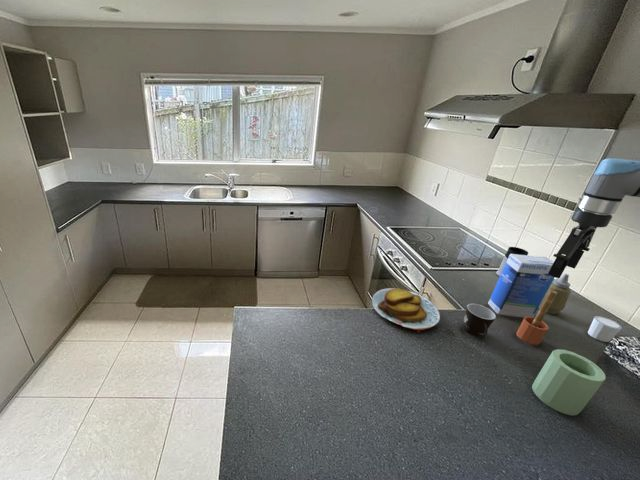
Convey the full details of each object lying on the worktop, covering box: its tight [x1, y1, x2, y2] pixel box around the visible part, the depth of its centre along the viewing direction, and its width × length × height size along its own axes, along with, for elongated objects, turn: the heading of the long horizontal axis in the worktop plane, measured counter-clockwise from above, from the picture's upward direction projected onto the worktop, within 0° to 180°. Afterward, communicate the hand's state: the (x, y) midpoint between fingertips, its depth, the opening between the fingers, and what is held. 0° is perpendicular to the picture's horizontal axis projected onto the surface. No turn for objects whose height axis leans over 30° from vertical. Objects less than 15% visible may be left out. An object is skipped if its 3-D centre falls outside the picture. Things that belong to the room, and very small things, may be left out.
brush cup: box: [515, 316, 550, 346], centre depth 103 cm, size 7×7×8 cm
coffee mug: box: [461, 303, 497, 338], centre depth 104 cm, size 12×9×10 cm
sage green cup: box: [531, 348, 607, 416], centre depth 80 cm, size 10×10×14 cm
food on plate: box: [371, 287, 441, 334], centre depth 115 cm, size 25×25×7 cm
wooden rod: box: [531, 290, 557, 327], centre depth 100 cm, size 4×4×21 cm
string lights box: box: [487, 254, 556, 319], centre depth 113 cm, size 13×8×26 cm, turn 80°
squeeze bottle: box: [538, 273, 571, 315], centre depth 117 cm, size 8×8×18 cm
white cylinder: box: [587, 315, 623, 343], centre depth 106 cm, size 7×7×7 cm
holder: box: [495, 246, 529, 277], centre depth 139 cm, size 9×14×15 cm, turn 167°
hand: (561, 271), depth 92 cm, fingers open, 13 cm apart
